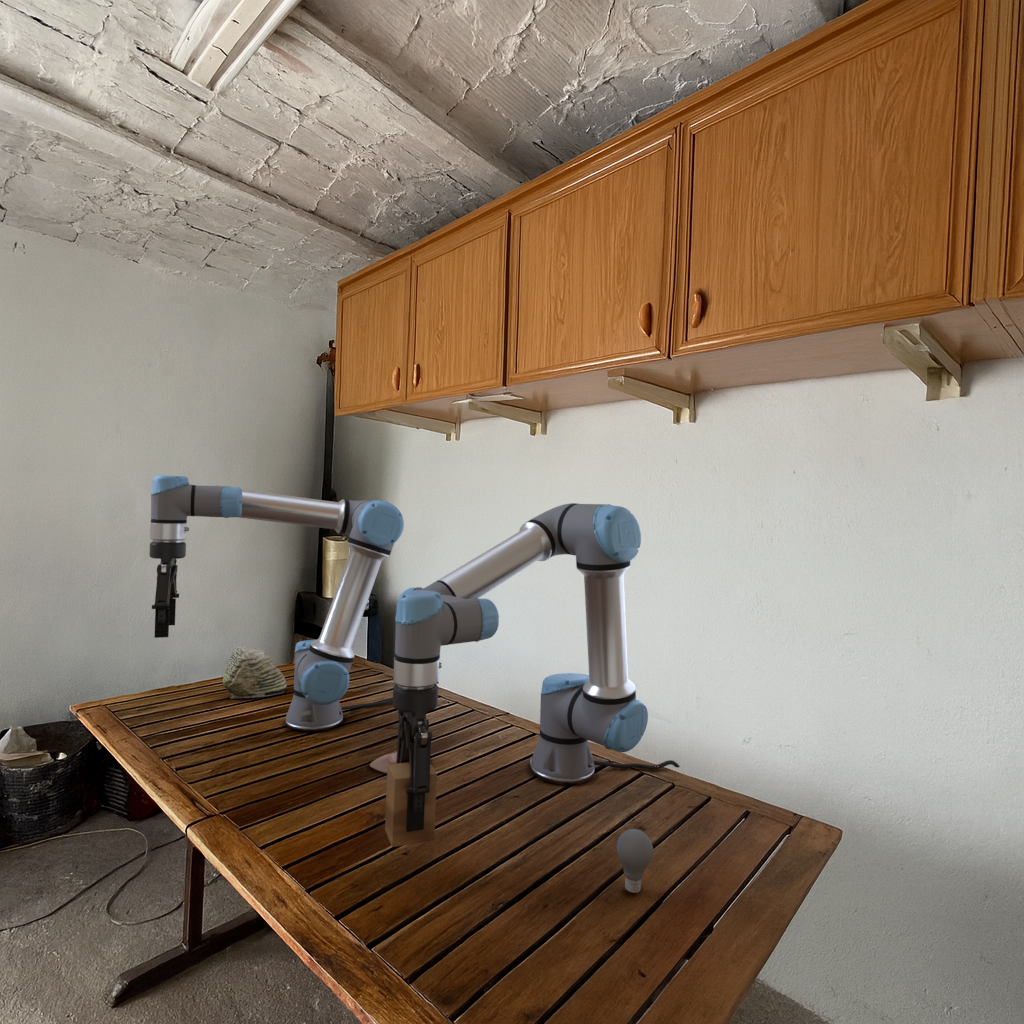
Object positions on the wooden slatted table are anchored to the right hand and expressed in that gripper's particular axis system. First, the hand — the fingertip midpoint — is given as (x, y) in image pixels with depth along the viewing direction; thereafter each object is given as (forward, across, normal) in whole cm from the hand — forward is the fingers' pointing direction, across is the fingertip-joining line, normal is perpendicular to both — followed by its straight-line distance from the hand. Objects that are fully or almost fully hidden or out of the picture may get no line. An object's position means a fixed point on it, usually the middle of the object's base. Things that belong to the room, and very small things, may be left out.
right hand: (410, 819), depth 107 cm
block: (+3, 0, 0) cm, 3 cm away
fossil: (+10, +108, +23) cm, 111 cm away
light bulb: (+10, -16, -34) cm, 39 cm away
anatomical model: (+10, +44, -8) cm, 46 cm away
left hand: (-20, +64, +44) cm, 81 cm away
